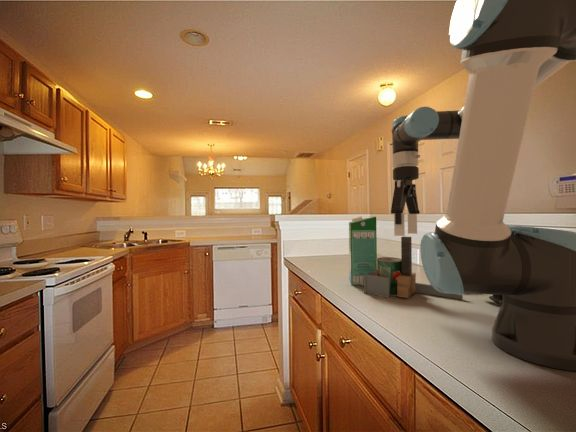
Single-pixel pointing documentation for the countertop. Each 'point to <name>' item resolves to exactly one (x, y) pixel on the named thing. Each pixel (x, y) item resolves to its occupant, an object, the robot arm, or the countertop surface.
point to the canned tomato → (390, 271)
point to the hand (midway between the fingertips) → (406, 234)
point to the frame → (382, 287)
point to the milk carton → (362, 248)
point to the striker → (406, 270)
